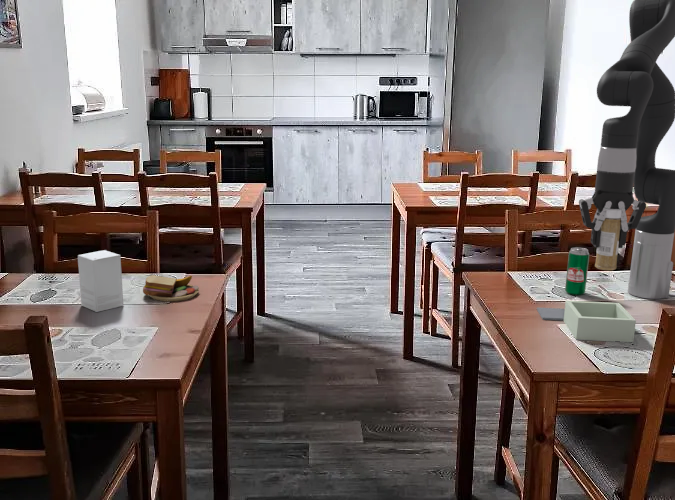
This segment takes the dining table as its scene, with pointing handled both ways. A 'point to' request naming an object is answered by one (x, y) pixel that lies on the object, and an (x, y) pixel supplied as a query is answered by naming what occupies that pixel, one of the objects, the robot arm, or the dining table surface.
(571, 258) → the soda can
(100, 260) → the supplement box
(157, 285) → the toy sandwich meal
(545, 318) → the coaster
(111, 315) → the dining table surface
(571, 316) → the crate
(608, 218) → the sprinkles bottle
